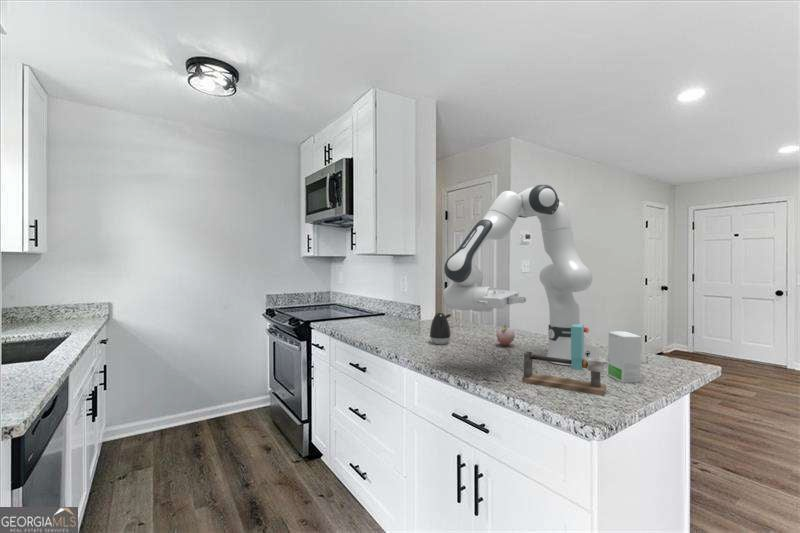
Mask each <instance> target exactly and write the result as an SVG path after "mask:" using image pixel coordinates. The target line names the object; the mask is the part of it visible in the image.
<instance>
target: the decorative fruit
mask: <svg viewBox="0 0 800 533" xmlns="http://www.w3.org/2000/svg"><path fill="white" fill-rule="evenodd" d="M515 336H516V335H515V331H514V330H513V329H512V328H511V327H509V326H506V325H504V326H502V327H499V328H498V329H497V331H496V338H497V341H498V342H499V344H501V346H504V347H506V346H508V345H510V344H511V343H512V342H514V340H515Z"/></svg>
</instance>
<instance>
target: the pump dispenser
mask: <svg viewBox="0 0 800 533" xmlns="http://www.w3.org/2000/svg"><path fill="white" fill-rule="evenodd" d="M451 317H452V314H451V313H450V314H444V313H443V312H437V313H436V314H435V315H434V316H433V319H432V322H431V324H430V328H429V337H430V340H431V342H432V343H433V344H434V345H435V344H436V345H446V344H447V343H449V341H450V338H451V336H452V334H451V333H452V332H451V329H450V328H451V327H450V324H449V320H448V318H451Z"/></svg>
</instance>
